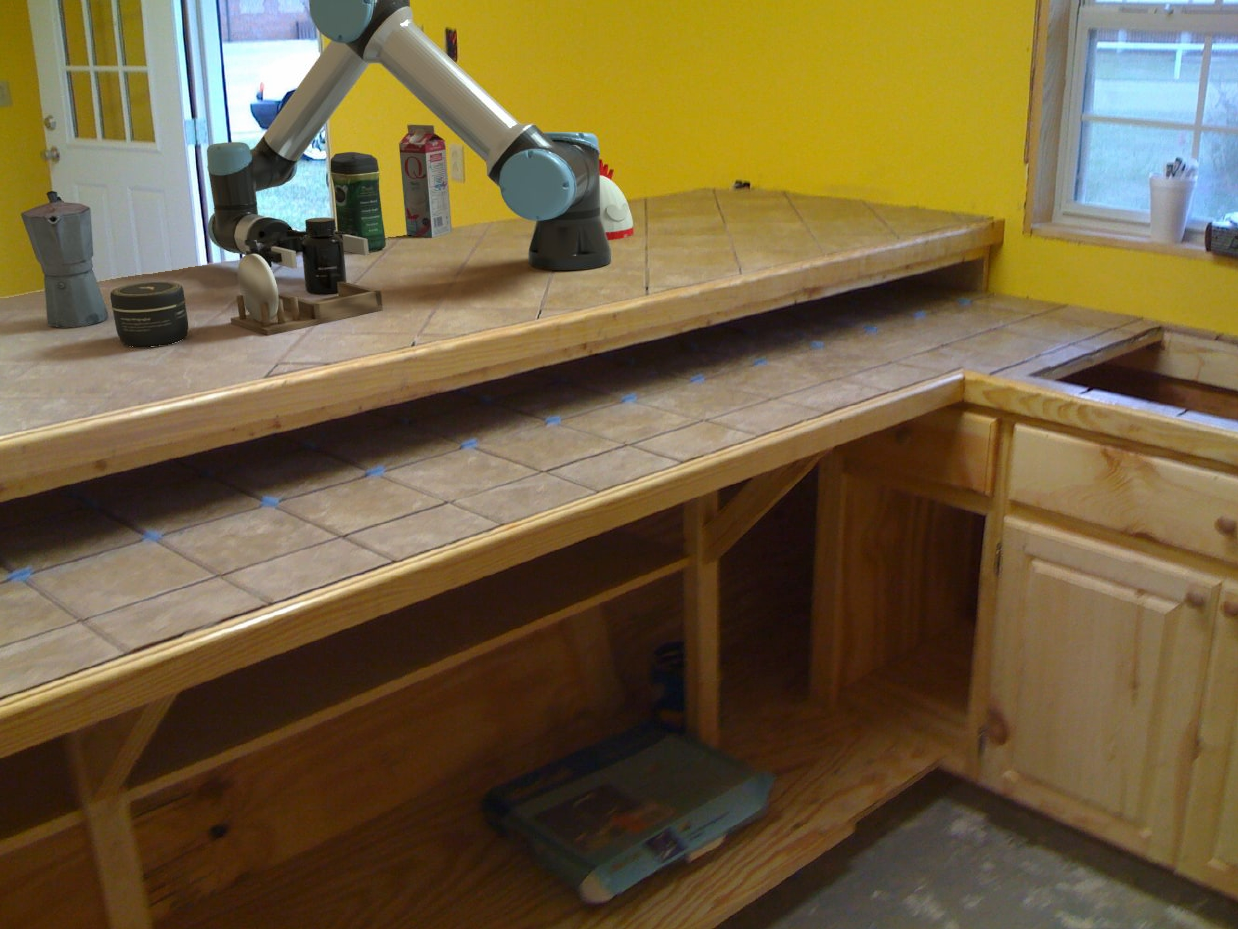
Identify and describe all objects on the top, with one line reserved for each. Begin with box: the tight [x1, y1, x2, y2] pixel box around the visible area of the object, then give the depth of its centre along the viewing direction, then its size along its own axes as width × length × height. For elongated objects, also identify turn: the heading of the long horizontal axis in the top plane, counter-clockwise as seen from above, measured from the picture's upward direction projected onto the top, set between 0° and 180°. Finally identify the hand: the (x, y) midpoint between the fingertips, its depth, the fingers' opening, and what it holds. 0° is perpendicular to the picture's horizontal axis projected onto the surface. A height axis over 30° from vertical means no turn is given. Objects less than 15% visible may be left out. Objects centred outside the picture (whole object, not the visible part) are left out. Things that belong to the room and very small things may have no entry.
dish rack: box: [230, 254, 384, 336], centre depth 182 cm, size 20×11×11 cm, turn 135°
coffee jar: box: [330, 151, 387, 253], centre depth 231 cm, size 10×8×19 cm
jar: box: [109, 281, 189, 348], centre depth 171 cm, size 10×10×8 cm
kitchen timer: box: [599, 158, 634, 241], centre depth 241 cm, size 14×14×15 cm
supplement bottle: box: [301, 217, 348, 296], centre depth 198 cm, size 7×7×12 cm
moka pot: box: [20, 190, 109, 328], centre depth 181 cm, size 10×15×20 cm, turn 24°
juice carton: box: [398, 124, 453, 239], centre depth 244 cm, size 7×7×22 cm
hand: (331, 253), depth 196 cm, fingers open, 13 cm apart
